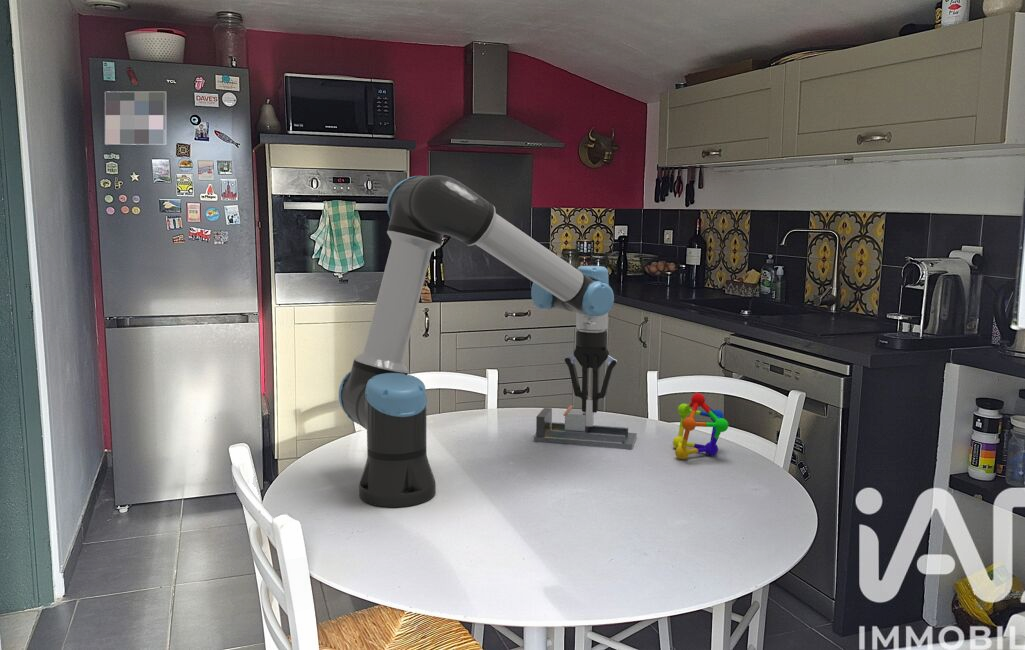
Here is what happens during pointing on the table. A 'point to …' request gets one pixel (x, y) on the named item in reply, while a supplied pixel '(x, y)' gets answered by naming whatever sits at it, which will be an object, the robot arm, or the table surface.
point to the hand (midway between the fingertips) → (589, 424)
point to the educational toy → (690, 425)
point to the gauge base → (581, 434)
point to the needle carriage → (575, 420)
